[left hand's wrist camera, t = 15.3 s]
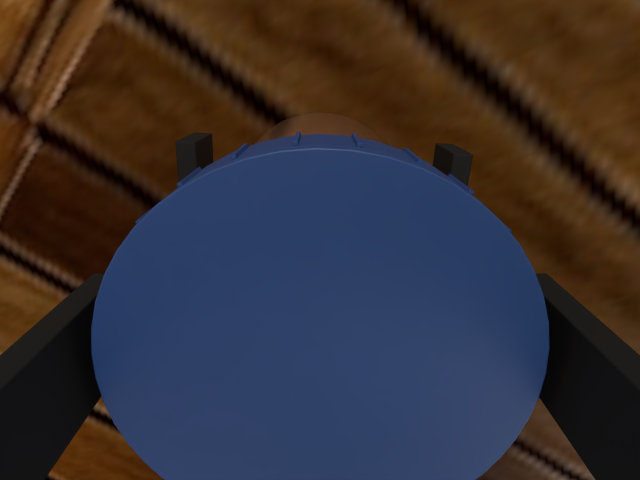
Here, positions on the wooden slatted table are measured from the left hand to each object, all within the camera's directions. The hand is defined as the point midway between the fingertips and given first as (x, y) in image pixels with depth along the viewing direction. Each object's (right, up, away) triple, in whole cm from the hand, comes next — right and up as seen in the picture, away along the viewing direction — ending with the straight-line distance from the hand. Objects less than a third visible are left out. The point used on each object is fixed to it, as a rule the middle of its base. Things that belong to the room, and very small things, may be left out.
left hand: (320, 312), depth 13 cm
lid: (0, -1, -2) cm, 3 cm away
